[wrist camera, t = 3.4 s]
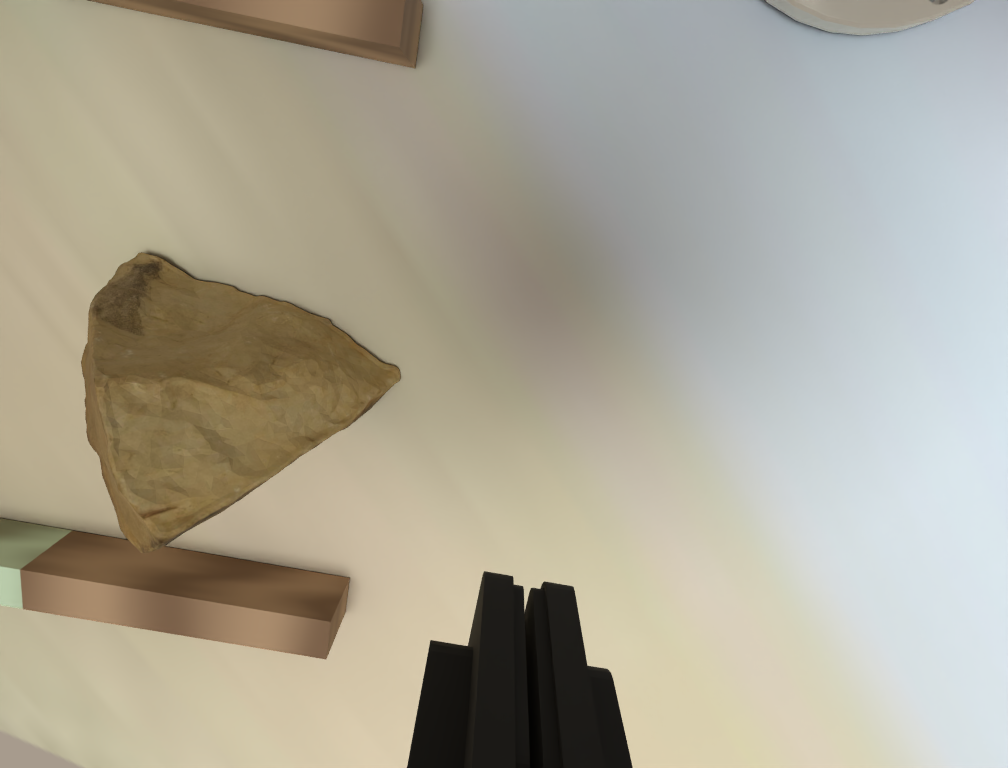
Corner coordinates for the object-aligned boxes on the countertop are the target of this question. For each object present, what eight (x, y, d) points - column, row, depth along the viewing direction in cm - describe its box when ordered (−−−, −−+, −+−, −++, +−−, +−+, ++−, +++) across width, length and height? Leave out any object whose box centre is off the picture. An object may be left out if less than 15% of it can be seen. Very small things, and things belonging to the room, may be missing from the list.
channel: (423, 5, 20) (408, -27, 17) (345, 612, 28) (326, 659, 25) (-414, -173, 19) (-575, -237, 16) (-253, 511, 27) (-344, 548, 24)
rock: (6, 316, 22) (156, 539, 23) (-99, 233, 14) (134, 571, 15) (274, 214, 27) (386, 401, 28) (303, 112, 19) (454, 374, 20)
